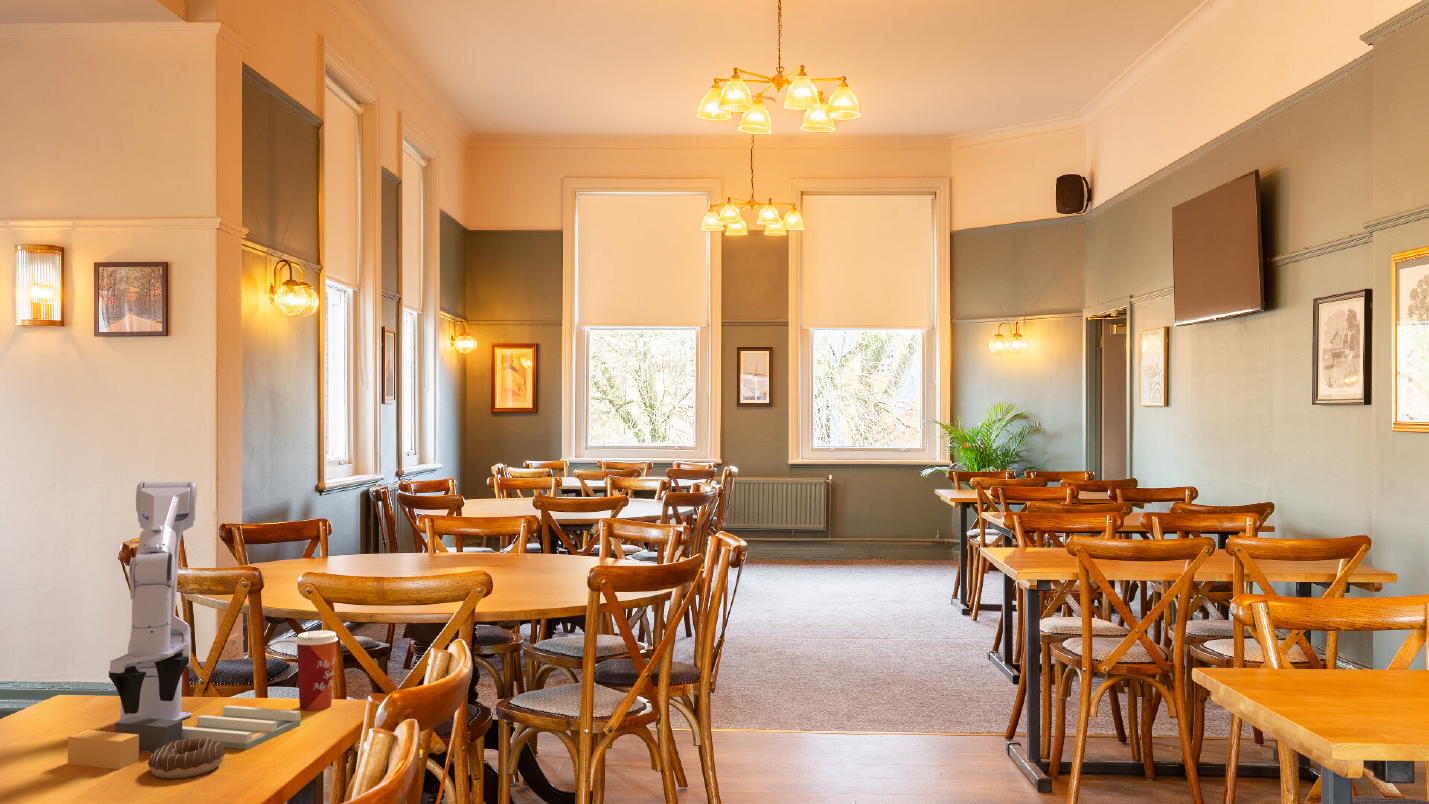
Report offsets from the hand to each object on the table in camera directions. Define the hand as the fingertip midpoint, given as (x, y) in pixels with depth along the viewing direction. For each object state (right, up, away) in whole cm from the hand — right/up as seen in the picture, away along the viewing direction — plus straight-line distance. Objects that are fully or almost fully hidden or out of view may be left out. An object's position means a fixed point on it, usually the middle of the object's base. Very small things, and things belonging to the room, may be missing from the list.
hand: (149, 706), depth 163 cm
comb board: (+11, -7, +8) cm, 15 cm away
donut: (+12, -7, -10) cm, 17 cm away
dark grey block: (0, -7, 0) cm, 7 cm away
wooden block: (-3, -7, -8) cm, 11 cm away
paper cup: (+18, -8, +24) cm, 31 cm away
